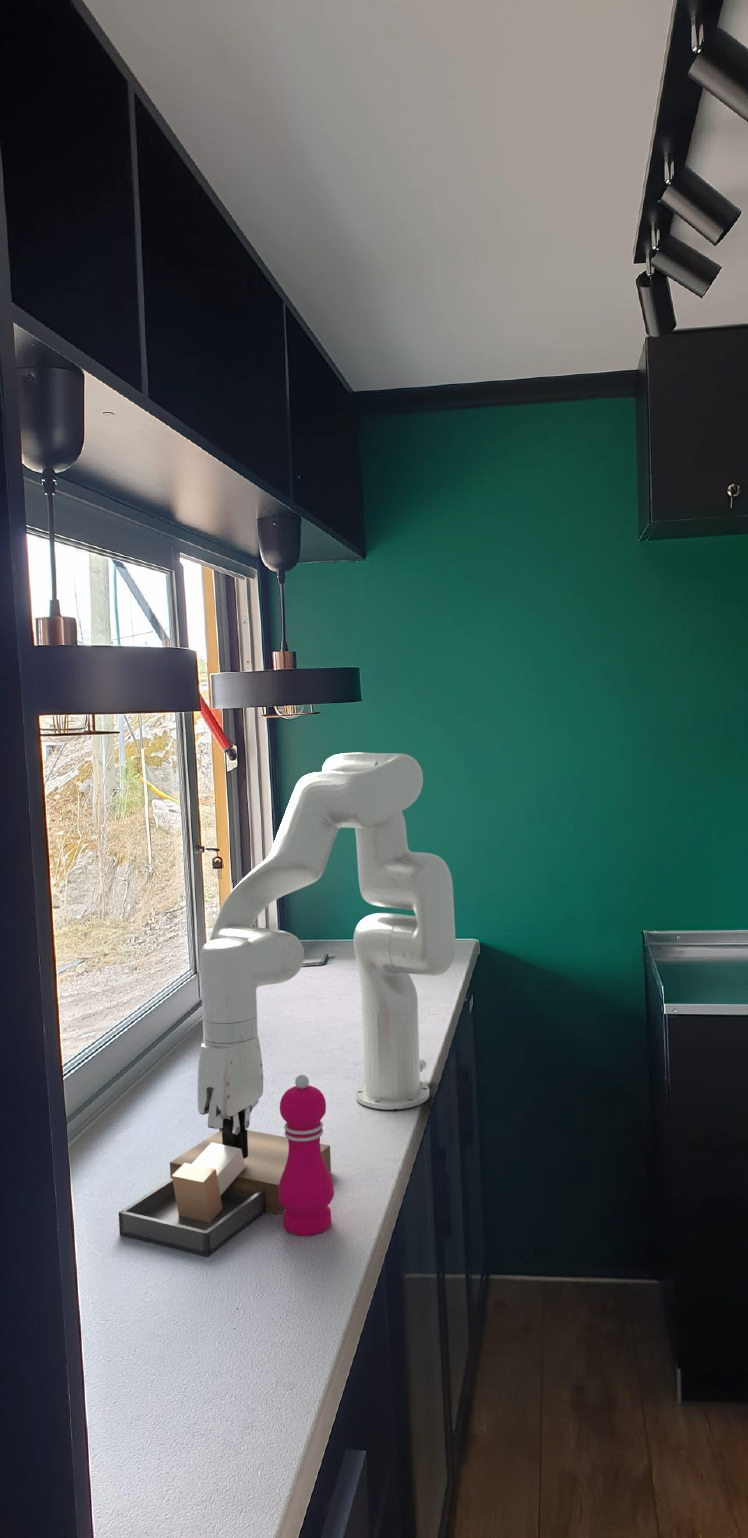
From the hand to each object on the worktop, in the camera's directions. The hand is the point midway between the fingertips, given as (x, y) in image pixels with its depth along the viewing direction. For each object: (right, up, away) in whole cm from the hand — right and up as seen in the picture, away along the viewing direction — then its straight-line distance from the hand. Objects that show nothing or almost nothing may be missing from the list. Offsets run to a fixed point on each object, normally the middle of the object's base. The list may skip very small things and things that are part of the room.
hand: (235, 1157), depth 156 cm
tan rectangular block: (-3, -1, -7) cm, 8 cm away
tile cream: (-2, -2, -4) cm, 4 cm away
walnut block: (+2, -5, +4) cm, 6 cm away
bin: (-4, -6, -9) cm, 11 cm away
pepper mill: (+11, -6, -10) cm, 16 cm away
